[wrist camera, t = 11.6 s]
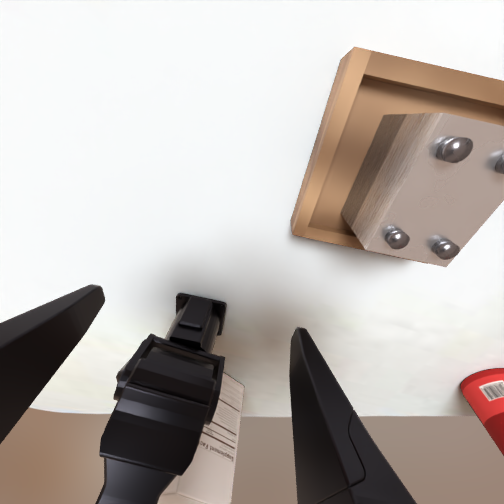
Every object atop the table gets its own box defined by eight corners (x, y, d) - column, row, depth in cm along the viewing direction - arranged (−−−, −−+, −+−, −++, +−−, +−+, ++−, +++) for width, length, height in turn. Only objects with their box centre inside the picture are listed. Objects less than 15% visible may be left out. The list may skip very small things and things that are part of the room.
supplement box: (213, 398, 42) (186, 516, 30) (178, 377, 39) (131, 499, 27) (246, 386, 39) (231, 516, 26) (210, 362, 36) (174, 496, 23)
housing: (398, 225, 18) (453, 273, 12) (340, 212, 18) (369, 255, 12) (456, 130, 14) (573, 139, 9) (383, 114, 14) (453, 112, 8)
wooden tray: (409, 246, 21) (427, 263, 18) (290, 220, 21) (292, 234, 18) (512, 98, 14) (562, 94, 12) (340, 59, 14) (354, 46, 12)
